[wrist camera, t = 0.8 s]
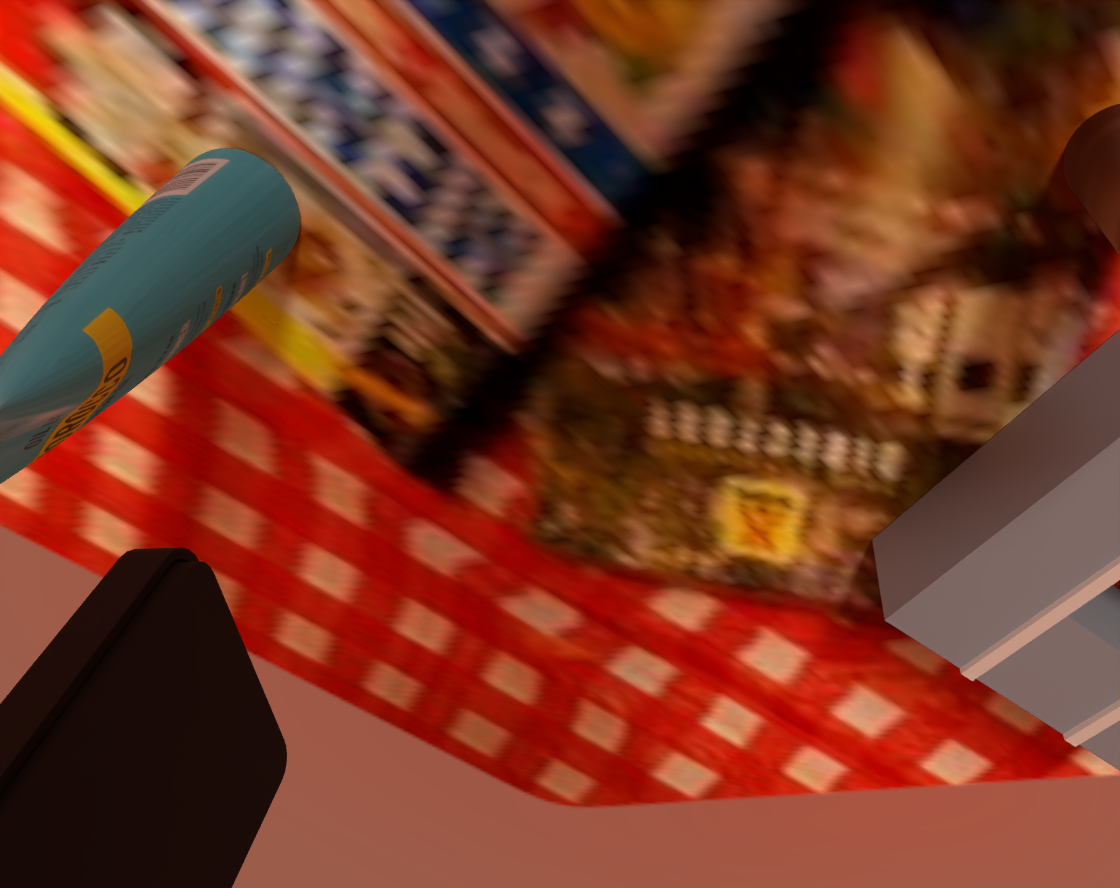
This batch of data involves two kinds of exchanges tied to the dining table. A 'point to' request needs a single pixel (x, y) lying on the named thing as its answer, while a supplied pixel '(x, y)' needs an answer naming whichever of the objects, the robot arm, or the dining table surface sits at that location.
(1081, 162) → the walnut peg
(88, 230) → the dining table surface
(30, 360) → the tube
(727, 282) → the dining table surface
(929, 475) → the dining table surface
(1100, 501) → the socket block
